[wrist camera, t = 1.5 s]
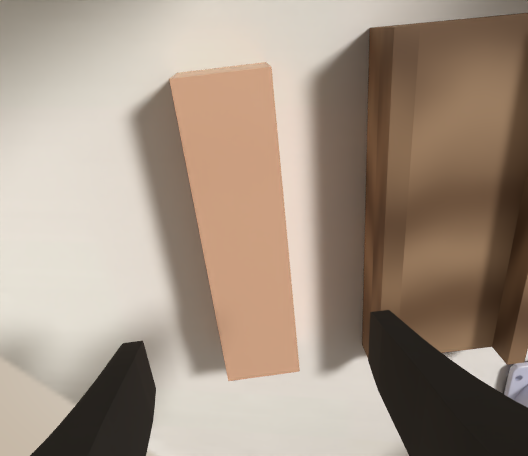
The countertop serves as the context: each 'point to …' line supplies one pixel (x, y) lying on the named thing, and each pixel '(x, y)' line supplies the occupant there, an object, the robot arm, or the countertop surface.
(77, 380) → the countertop surface
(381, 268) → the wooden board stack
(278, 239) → the clay strip
